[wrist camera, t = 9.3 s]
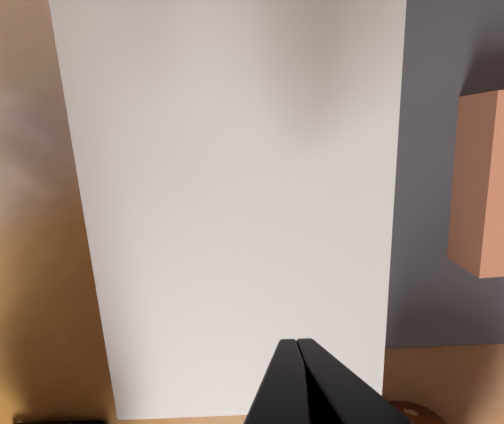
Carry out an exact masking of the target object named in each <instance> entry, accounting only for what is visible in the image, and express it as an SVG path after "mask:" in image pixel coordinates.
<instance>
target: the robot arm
mask: <svg viewBox="0 0 504 424" xmlns="http://www.w3.org/2000/svg"><path fill="white" fill-rule="evenodd" d="M19 424H106V423H105V422H104V421H101V420H91V421H67V422H43V423H19ZM243 424H415V423H412V421H411V420H410V419H409V418H408V417H407V416H405V415H404V414H403V413H402V412H401V411H399V410H398V409H397V408H396V407H395V406H393V405H392V404H391V403H390V402H389V401H387V400H386V399H385V398H384V397H383V396H381V395H380V394H379V393H378V392H376V391H375V390H374V389H373V388H372V387H370V386H369V385H368V384H367V383H366V382H364V381H363V380H362V379H361V378H360V377H358V376H357V375H356V374H355V373H353V372H352V371H351V370H350V369H349V368H347V367H346V366H345V365H344V364H343V363H341V362H340V361H339V360H338V359H337V358H335V357H334V356H333V355H332V354H331V353H329V352H328V351H327V350H326V349H324V348H323V347H322V346H321V345H320V344H318V343H317V342H316V341H315V340H314V339H312V338H299V339H297V340H295V339H281V340H279V342H278V345H277V347H276V349H275V352H274V354H273V356H272V358H271V361H270V363H269V365H268V368H267V370H266V372H265V375H264V377H263V379H262V382H261V384H260V386H259V389H258V391H257V393H256V396H255V398H254V400H253V403H252V405H251V407H250V409H249V412H248V414H247V416H246V419H245V421H244V423H243Z"/></svg>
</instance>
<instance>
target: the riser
mask: <svg viewBox="0 0 504 424" xmlns="http://www.w3.org/2000/svg"><path fill="white" fill-rule="evenodd" d="M48 1H49V7H50V13H51V19H52V25H53V32H54V38H55V44H56V50H57V56H58V62H59V68H60V74H61V80H62V86H63V92H64V98H65V104H66V110H67V116H68V122H69V129H70V135H71V141H72V147H73V153H74V159H75V165H76V171H77V177H78V183H79V189H80V195H81V201H82V207H83V213H84V220H85V226H86V232H87V238H88V244H89V250H90V256H91V262H92V268H93V274H94V280H95V286H96V292H97V298H98V304H99V310H100V317H101V323H102V329H103V335H104V341H105V347H106V353H107V359H108V365H109V371H110V377H111V383H112V389H113V395H114V401H115V407H116V414H117V420H132V419H156V418H180V417H204V416H228V415H247V414H248V412H249V409H250V407H251V405H252V403H253V400H254V398H255V396H256V393H257V391H258V389H259V386H260V384H261V382H262V379H263V377H264V375H265V372H266V370H267V368H268V365H269V363H270V361H271V358H272V356H273V354H274V352H275V349H276V347H277V345H278V342H279V340H281V339H295V340H297V339H299V338H312V339H314V340H315V341H316V342H317V343H318V344H320V345H321V346H322V347H323V348H324V349H326V350H327V351H328V352H329V353H331V354H332V355H333V356H334V357H335V358H337V359H338V360H339V361H340V362H341V363H343V364H344V365H345V366H346V367H347V368H349V369H350V370H351V371H352V372H353V373H355V374H356V375H357V376H358V377H360V378H361V379H362V380H363V381H364V382H366V383H367V384H368V385H369V386H370V387H372V388H373V389H374V390H375V391H376V392H378V393H379V394H380V395H381V396H382V387H383V371H384V355H385V339H386V323H387V307H388V291H389V275H390V259H391V242H392V226H393V210H394V194H395V178H396V162H397V146H398V130H399V114H400V98H401V82H402V66H403V50H404V34H405V18H406V1H407V0H48Z"/></svg>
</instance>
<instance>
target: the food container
mask: <svg viewBox="0 0 504 424" xmlns="http://www.w3.org/2000/svg"><path fill="white" fill-rule="evenodd" d="M389 402H390V403H391V404H392V405H393V406H395V407H396V408H397V409H398V410H399V411H401V412H402V413H403V414H404V415H405V416H407V417H408V418H409V419H410V420H411V421H412V423H415V424H446V423H445V422H444V421H443V420H442V418H440V417H439V416H438V415H437V414H436V413H435V412H433V411H431V410H429V409H428V408H426V407H423V406H421V405H418V404H414V403H410V402H403V401H389Z"/></svg>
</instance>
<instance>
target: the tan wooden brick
mask: <svg viewBox="0 0 504 424" xmlns="http://www.w3.org/2000/svg"><path fill="white" fill-rule="evenodd" d="M447 258H448V259H449V260H451V261H453V262H454V263H456V264H457V265H459V266H460V267H462V268H464V269H465V270H467V271H468V272H470V273H472V274H473V275H475V276H476V277H478V278H491V277H504V90H496V91H490V92H484V93H478V94H472V95H466V96H460V97H459V103H458V116H457V129H456V143H455V156H454V169H453V182H452V196H451V209H450V222H449V235H448V248H447Z"/></svg>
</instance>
